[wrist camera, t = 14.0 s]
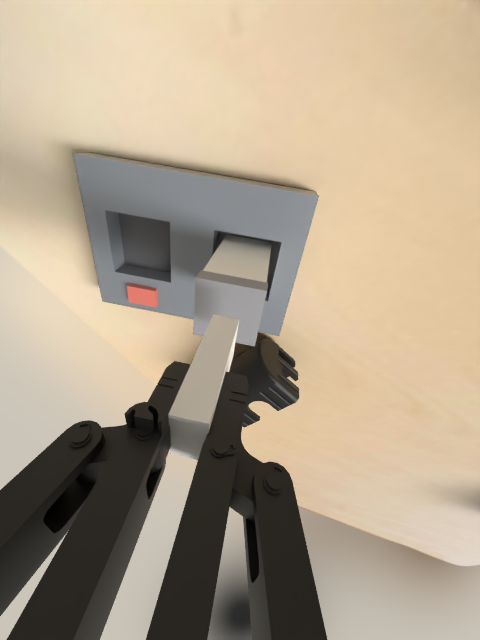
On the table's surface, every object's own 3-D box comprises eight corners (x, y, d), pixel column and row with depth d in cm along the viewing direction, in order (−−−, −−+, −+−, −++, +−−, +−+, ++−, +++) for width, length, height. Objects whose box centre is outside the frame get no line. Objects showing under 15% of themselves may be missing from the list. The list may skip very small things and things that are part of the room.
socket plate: (91, 152, 23) (67, 153, 20) (315, 191, 22) (319, 197, 19) (114, 291, 31) (99, 304, 28) (279, 323, 30) (278, 339, 27)
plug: (225, 233, 25) (195, 277, 16) (273, 241, 24) (267, 291, 16) (221, 276, 27) (193, 334, 19) (264, 284, 27) (254, 346, 19)
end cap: (261, 325, 31) (256, 364, 25) (300, 360, 33) (303, 403, 27) (209, 364, 35) (195, 404, 30) (245, 392, 38) (238, 434, 32)
